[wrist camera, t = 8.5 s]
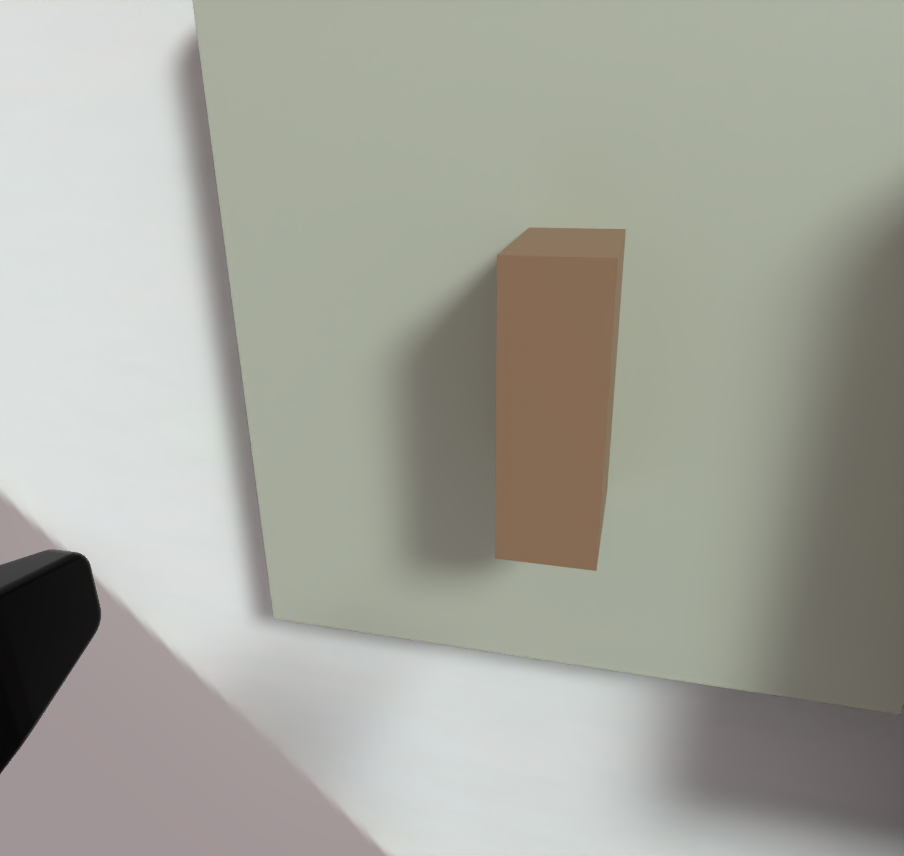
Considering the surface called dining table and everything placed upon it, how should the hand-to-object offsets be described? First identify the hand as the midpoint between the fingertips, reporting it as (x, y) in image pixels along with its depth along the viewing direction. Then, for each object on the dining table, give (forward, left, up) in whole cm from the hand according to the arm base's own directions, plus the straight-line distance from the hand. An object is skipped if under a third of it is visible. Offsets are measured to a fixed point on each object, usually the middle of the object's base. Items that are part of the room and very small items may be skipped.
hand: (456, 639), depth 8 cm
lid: (0, 0, -12) cm, 12 cm away
